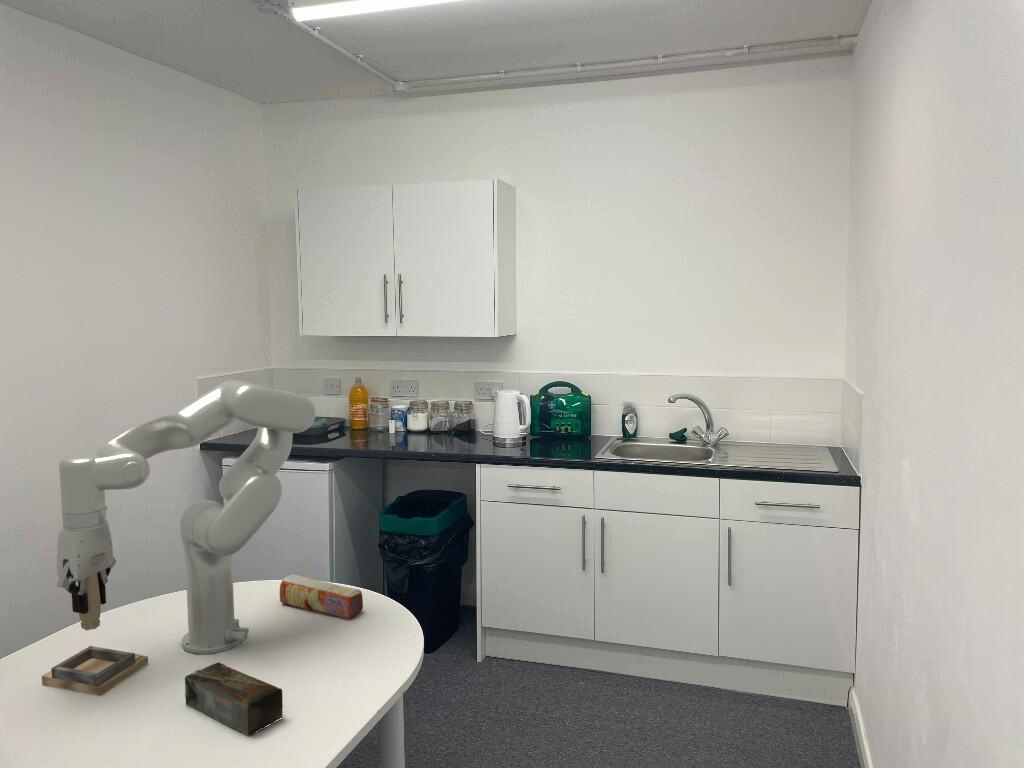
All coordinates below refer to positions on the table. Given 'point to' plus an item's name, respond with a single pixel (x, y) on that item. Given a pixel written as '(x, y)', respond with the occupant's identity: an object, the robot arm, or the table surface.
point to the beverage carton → (233, 698)
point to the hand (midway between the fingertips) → (89, 606)
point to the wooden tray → (94, 670)
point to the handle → (92, 598)
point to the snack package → (321, 596)
